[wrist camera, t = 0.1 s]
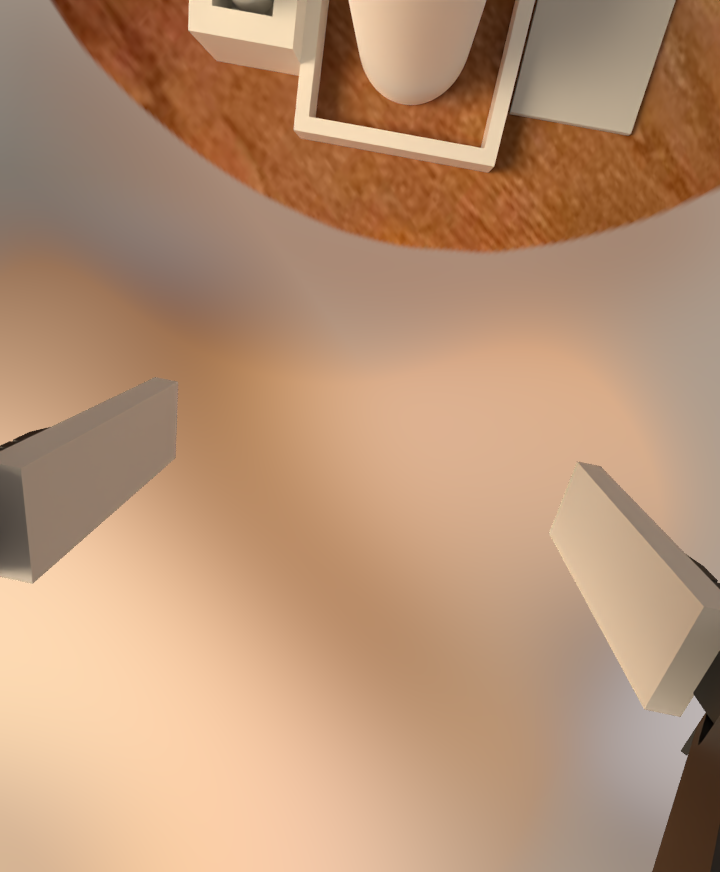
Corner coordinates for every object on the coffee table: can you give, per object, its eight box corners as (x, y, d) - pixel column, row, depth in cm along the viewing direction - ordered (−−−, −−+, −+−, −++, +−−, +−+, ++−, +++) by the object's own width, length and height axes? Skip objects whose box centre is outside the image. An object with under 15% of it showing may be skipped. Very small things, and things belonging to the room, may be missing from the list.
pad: (547, -41, 31) (549, -46, 31) (678, -18, 31) (682, -22, 31) (509, 114, 35) (510, 112, 34) (627, 135, 34) (630, 133, 34)
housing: (226, -138, 31) (194, -209, 26) (549, -82, 31) (576, -143, 26) (213, 122, 36) (186, 102, 32) (488, 172, 36) (501, 159, 31)
